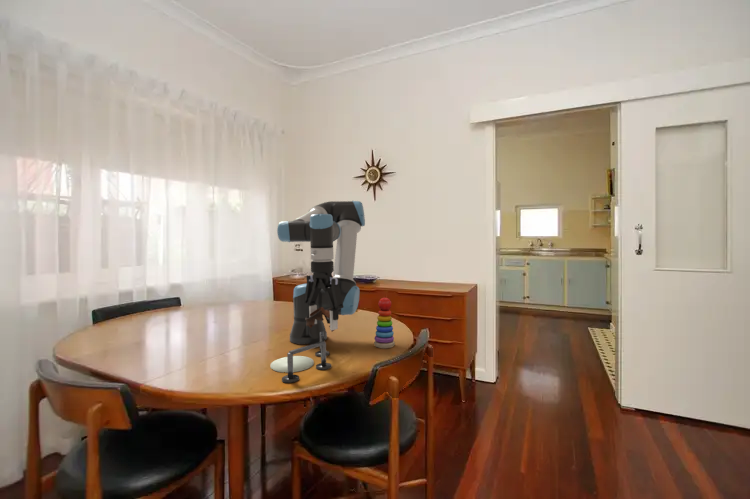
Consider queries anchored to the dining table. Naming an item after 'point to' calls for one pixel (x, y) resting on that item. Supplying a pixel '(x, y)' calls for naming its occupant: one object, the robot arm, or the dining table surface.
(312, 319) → the brown angular figure
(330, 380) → the dining table surface
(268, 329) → the dining table surface
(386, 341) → the stacking toy
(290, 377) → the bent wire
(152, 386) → the dining table surface
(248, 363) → the dining table surface
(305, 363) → the sage pad
